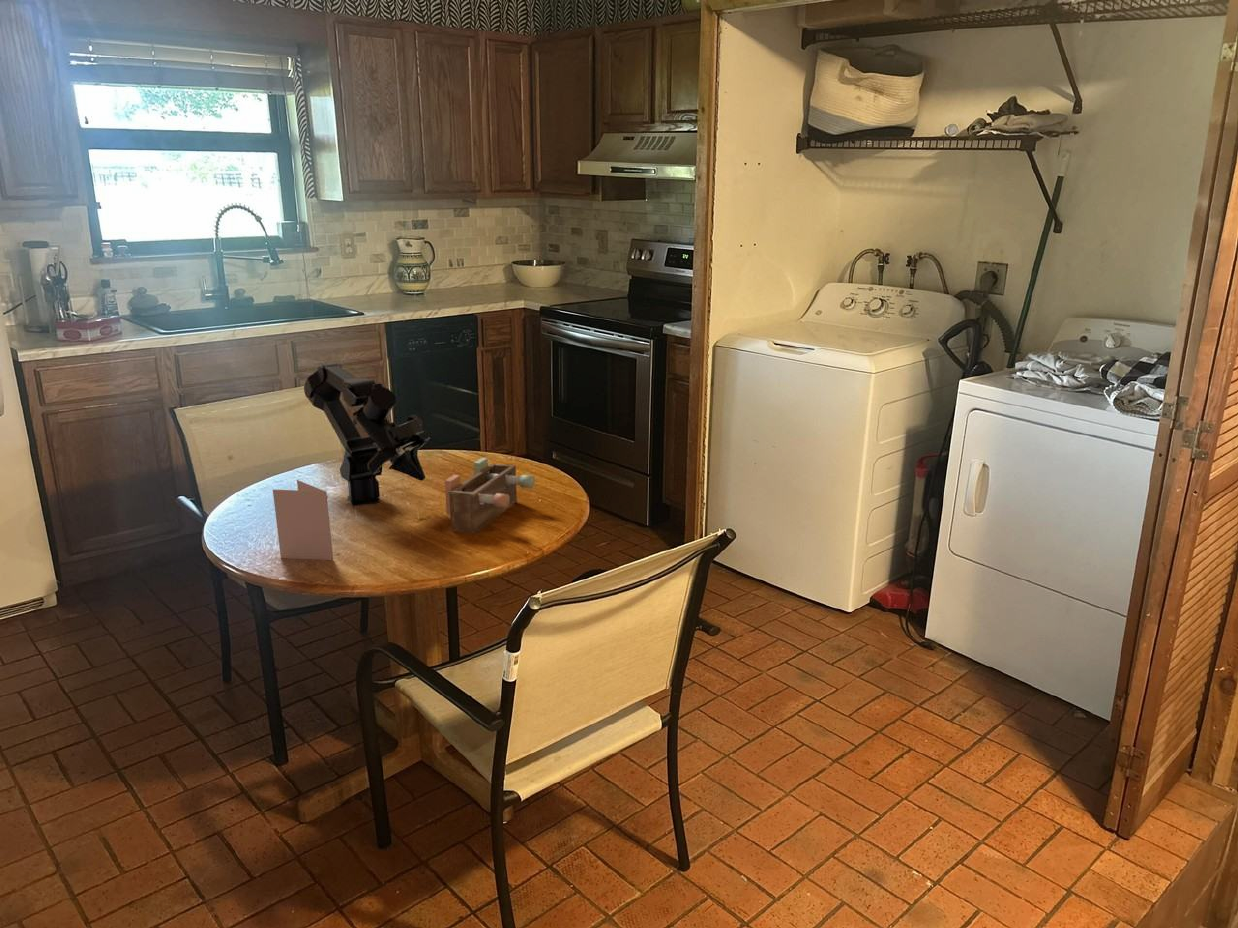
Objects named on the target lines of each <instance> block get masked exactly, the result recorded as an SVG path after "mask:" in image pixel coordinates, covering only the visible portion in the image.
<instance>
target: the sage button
mask: <svg viewBox="0 0 1238 928" xmlns="http://www.w3.org/2000/svg"><path fill="white" fill-rule="evenodd" d="M488 466H489V458H487V457H481V458H479V459H477V460H476V461H474V462H473V476H474V475H476V474H477V473H479V472H480V471H482V470H483V469H485V468H487V467H488ZM486 474H487V482H488V481H489V480H491V479H492V478H494V477H495V476H497V475H498V474H493V473H489V472H487V473H486ZM506 483H508V484H516V486H520V487H521V488H527V489H533V488H534V486H535V483H536V480H535V476H534V475H531V474H530V475H529V474H521V475H520V476H519V475H516V476H512V475H506Z"/></svg>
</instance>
